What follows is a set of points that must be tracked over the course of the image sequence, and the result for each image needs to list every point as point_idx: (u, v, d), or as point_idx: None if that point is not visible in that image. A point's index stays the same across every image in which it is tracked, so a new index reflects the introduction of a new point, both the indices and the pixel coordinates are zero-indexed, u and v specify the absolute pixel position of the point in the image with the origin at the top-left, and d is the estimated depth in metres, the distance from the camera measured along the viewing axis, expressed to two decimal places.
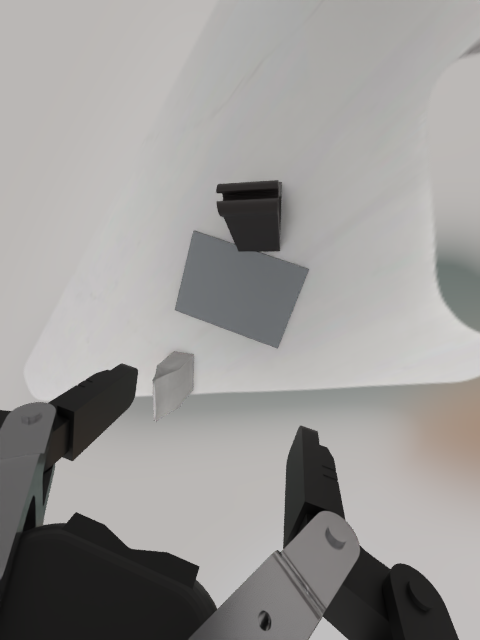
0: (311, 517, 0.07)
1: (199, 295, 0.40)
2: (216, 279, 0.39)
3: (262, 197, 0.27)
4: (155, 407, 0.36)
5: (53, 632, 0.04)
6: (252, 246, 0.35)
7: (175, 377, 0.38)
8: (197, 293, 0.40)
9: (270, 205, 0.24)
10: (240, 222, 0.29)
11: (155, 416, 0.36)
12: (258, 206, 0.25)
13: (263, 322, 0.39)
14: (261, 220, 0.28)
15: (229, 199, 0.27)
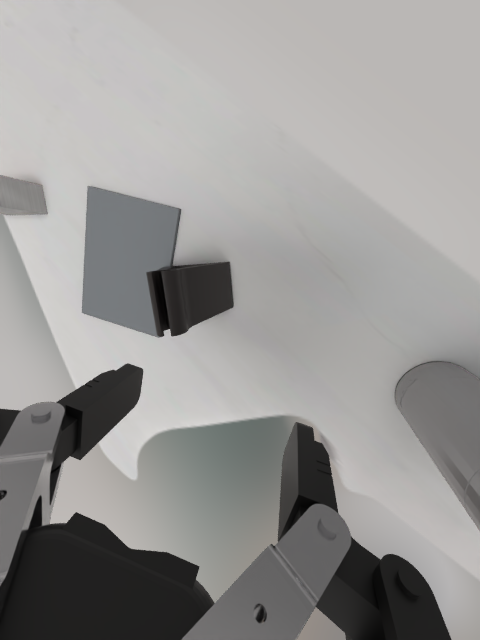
0: (305, 510, 0.08)
1: (111, 220, 0.34)
2: (132, 241, 0.34)
3: None
4: None
5: (53, 632, 0.04)
6: None
7: None
8: (112, 216, 0.34)
9: (157, 329, 0.24)
10: None
11: None
12: (154, 316, 0.23)
13: (102, 297, 0.37)
14: None
15: None
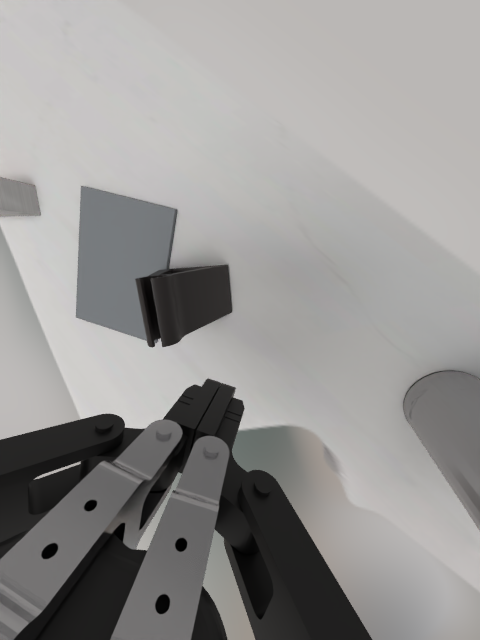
0: None
1: (105, 221, 0.32)
2: (126, 243, 0.33)
3: None
4: None
5: (53, 632, 0.04)
6: None
7: None
8: (106, 217, 0.32)
9: (147, 339, 0.22)
10: None
11: None
12: (144, 326, 0.22)
13: (96, 301, 0.36)
14: None
15: None
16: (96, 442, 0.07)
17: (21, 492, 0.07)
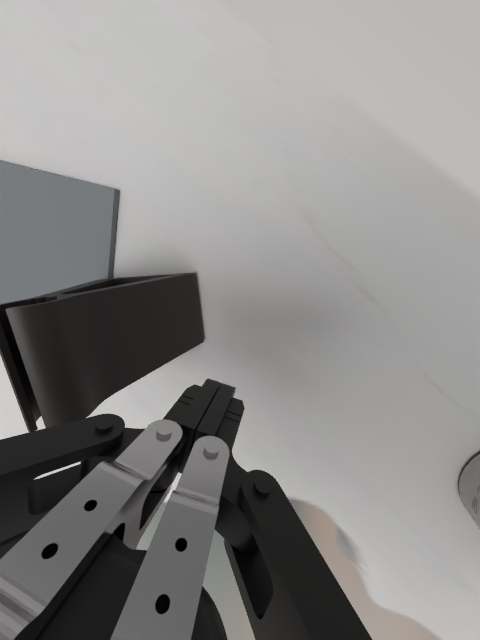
0: None
1: (19, 208, 0.22)
2: (50, 240, 0.22)
3: None
4: None
5: (53, 631, 0.04)
6: None
7: None
8: (20, 203, 0.22)
9: (23, 416, 0.12)
10: None
11: None
12: (15, 393, 0.12)
13: None
14: None
15: None
16: (96, 442, 0.07)
17: (21, 492, 0.07)
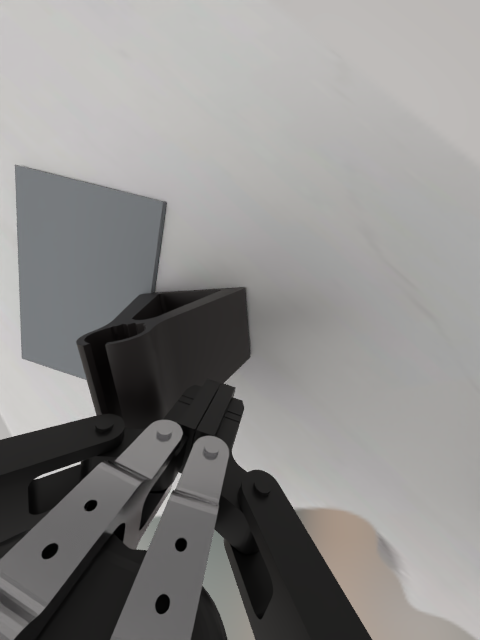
0: None
1: (55, 220, 0.21)
2: (89, 253, 0.21)
3: None
4: None
5: (53, 632, 0.04)
6: None
7: None
8: (57, 214, 0.21)
9: None
10: None
11: None
12: None
13: (49, 336, 0.25)
14: None
15: None
16: (96, 442, 0.07)
17: (21, 492, 0.07)
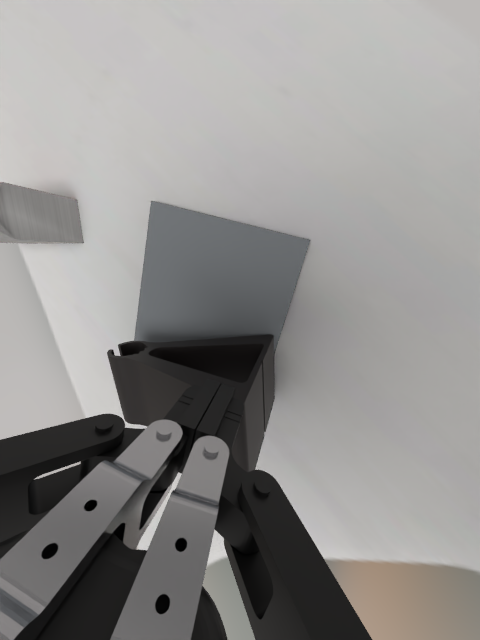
0: None
1: (186, 255, 0.21)
2: (218, 289, 0.21)
3: None
4: None
5: (53, 632, 0.04)
6: None
7: None
8: (189, 250, 0.21)
9: None
10: None
11: None
12: None
13: None
14: None
15: None
16: (96, 442, 0.07)
17: (21, 492, 0.07)
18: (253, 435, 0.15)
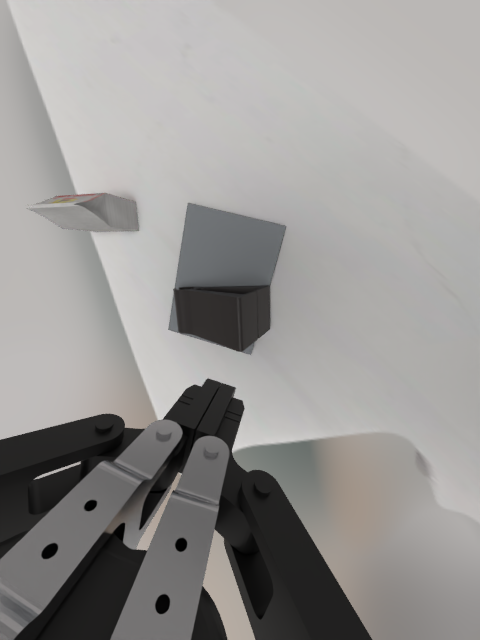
0: None
1: (210, 237, 0.33)
2: (230, 258, 0.33)
3: None
4: (45, 206, 0.26)
5: (52, 632, 0.04)
6: None
7: (97, 223, 0.29)
8: (212, 233, 0.33)
9: None
10: None
11: (33, 207, 0.27)
12: None
13: None
14: None
15: None
16: (96, 442, 0.07)
17: (21, 492, 0.07)
18: (247, 324, 0.28)
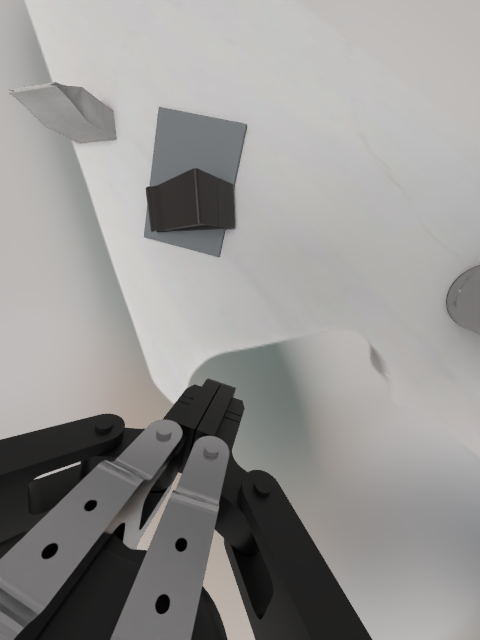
0: None
1: (179, 140, 0.36)
2: (198, 160, 0.36)
3: None
4: (25, 90, 0.30)
5: (53, 631, 0.04)
6: None
7: (74, 116, 0.33)
8: (181, 136, 0.36)
9: None
10: None
11: (14, 91, 0.30)
12: None
13: None
14: None
15: None
16: (96, 442, 0.07)
17: (21, 492, 0.07)
18: (205, 201, 0.31)
